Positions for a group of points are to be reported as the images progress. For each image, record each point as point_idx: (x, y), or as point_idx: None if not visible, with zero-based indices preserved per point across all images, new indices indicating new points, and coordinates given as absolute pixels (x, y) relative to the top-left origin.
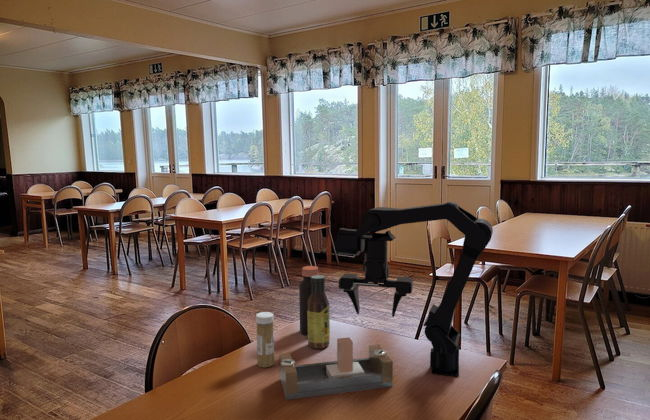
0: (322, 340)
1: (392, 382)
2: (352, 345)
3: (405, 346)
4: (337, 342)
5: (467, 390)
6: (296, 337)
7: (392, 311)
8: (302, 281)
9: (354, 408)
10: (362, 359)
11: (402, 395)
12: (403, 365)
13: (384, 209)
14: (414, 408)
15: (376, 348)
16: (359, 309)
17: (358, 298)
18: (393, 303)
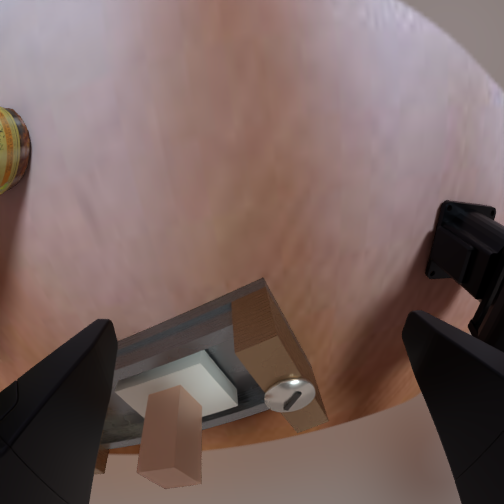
0: (3, 190)
1: (313, 373)
2: (200, 474)
3: (360, 56)
4: (140, 463)
5: (464, 324)
6: None
7: (419, 384)
8: None
9: (232, 437)
10: (211, 342)
11: (331, 386)
12: (352, 236)
13: None
14: (348, 411)
15: (271, 369)
16: (101, 336)
17: (47, 416)
18: (448, 455)
